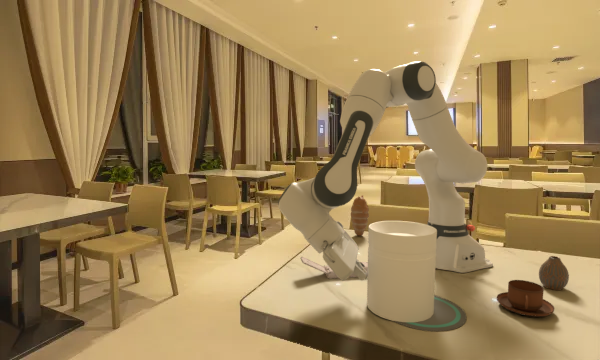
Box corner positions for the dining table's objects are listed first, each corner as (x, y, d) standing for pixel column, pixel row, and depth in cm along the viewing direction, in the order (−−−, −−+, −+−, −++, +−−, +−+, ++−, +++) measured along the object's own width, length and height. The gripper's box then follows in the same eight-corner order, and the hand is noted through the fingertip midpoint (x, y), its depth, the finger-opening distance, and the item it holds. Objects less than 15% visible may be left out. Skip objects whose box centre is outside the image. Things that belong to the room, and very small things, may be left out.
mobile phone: (299, 256, 111) (375, 251, 115) (299, 274, 112) (374, 268, 116) (303, 263, 105) (382, 257, 109) (303, 282, 106) (382, 275, 110)
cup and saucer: (564, 323, 81) (566, 297, 80) (507, 319, 83) (509, 294, 82) (538, 300, 93) (540, 277, 92) (489, 297, 94) (490, 275, 94)
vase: (559, 294, 96) (561, 262, 95) (532, 285, 102) (534, 255, 101) (572, 289, 99) (575, 258, 98) (546, 280, 105) (548, 252, 104)
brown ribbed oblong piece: (364, 239, 152) (365, 197, 150) (347, 236, 156) (347, 196, 154) (371, 234, 159) (372, 195, 157) (354, 232, 163) (355, 193, 161)
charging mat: (416, 279, 107) (416, 271, 107) (486, 324, 80) (486, 314, 80) (354, 285, 102) (354, 277, 102) (406, 336, 75) (407, 325, 75)
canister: (377, 288, 99) (379, 218, 97) (438, 300, 91) (441, 224, 89) (358, 312, 85) (359, 230, 83) (427, 329, 78) (431, 239, 75)
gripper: (329, 239, 80) (373, 285, 79) (340, 220, 100) (375, 256, 98) (310, 257, 81) (352, 302, 80) (324, 235, 101) (358, 270, 100)
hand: (365, 276), depth 89 cm, fingers closed, pressing on canister
